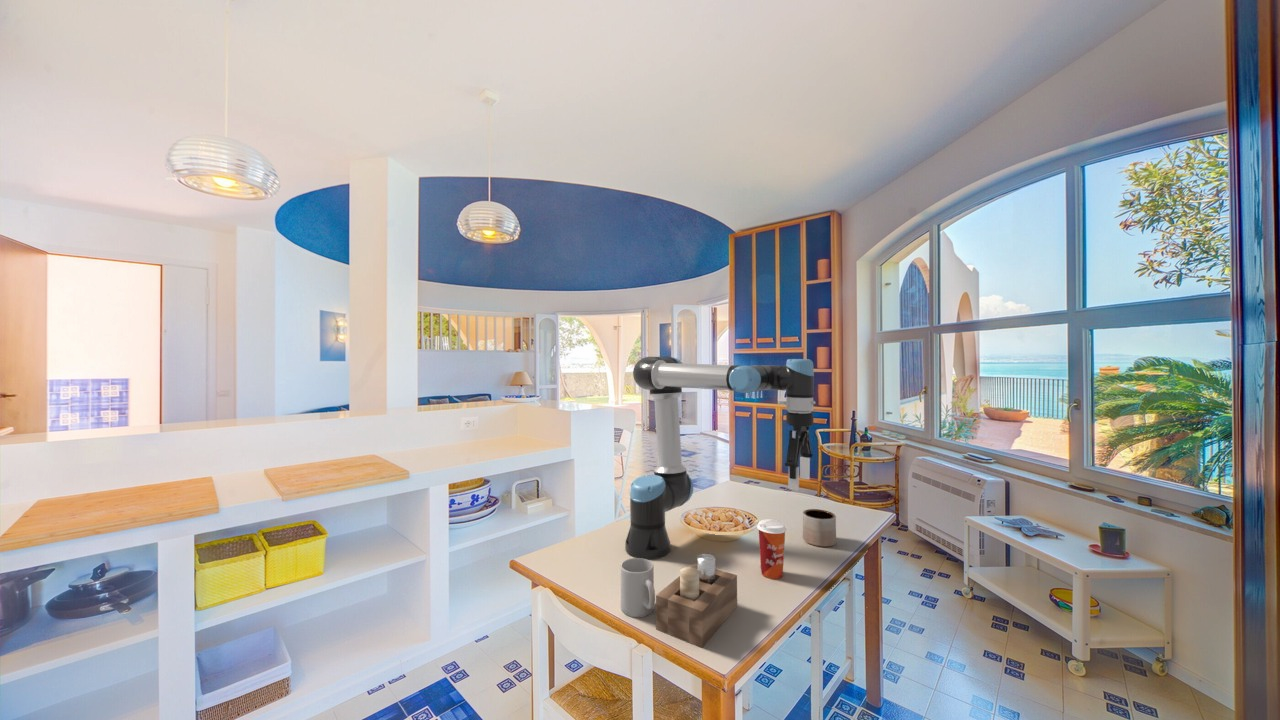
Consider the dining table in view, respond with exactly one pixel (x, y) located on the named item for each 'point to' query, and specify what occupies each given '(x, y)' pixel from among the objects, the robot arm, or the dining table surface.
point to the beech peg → (689, 583)
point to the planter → (819, 527)
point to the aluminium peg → (706, 568)
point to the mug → (637, 587)
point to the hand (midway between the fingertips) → (799, 484)
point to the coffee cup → (771, 547)
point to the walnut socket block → (696, 608)
